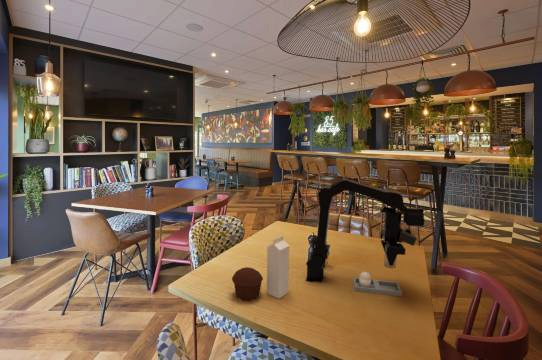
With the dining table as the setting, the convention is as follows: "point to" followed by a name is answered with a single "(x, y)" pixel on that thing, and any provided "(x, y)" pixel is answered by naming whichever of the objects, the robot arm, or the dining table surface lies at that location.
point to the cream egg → (365, 280)
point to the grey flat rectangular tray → (379, 287)
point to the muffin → (247, 283)
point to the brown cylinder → (388, 262)
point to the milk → (278, 268)
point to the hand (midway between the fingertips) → (389, 263)
